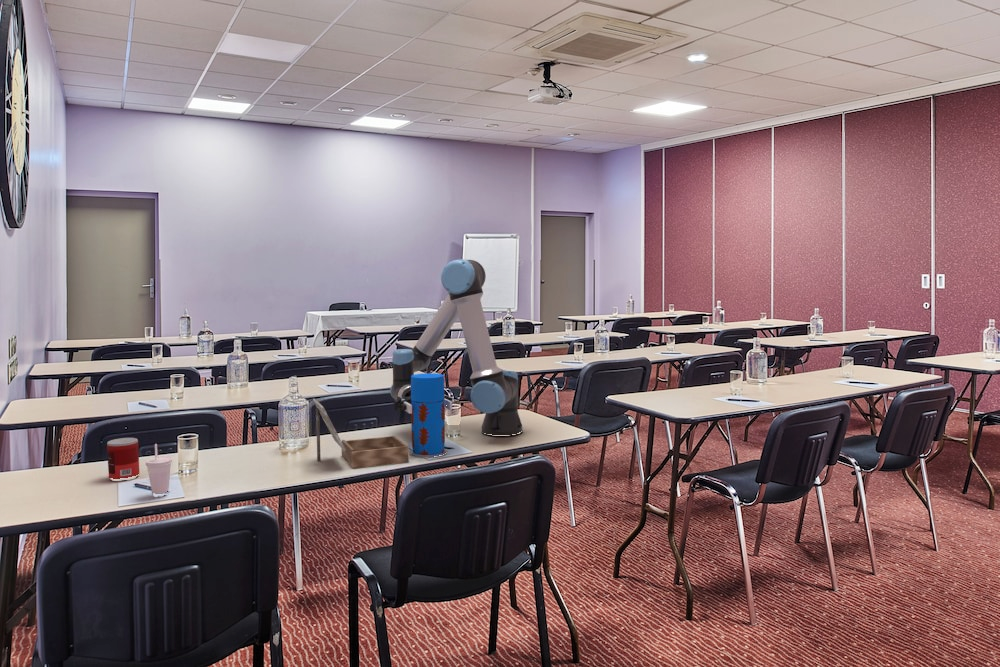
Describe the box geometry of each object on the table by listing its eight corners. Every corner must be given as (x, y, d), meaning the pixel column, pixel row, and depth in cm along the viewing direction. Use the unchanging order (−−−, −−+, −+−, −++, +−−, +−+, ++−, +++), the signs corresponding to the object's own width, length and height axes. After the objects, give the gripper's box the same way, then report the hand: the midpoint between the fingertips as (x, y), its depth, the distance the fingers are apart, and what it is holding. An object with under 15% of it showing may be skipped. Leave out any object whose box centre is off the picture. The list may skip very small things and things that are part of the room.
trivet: (439, 447, 239) (439, 445, 239) (452, 455, 229) (452, 453, 228) (405, 450, 235) (405, 449, 235) (416, 459, 224) (416, 457, 224)
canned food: (145, 474, 208) (143, 438, 207) (126, 482, 200) (124, 444, 199) (122, 473, 209) (121, 436, 208) (102, 481, 201) (100, 443, 200)
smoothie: (145, 494, 189) (142, 443, 188) (171, 490, 193) (168, 439, 192) (149, 500, 184) (146, 448, 183) (175, 496, 188) (173, 444, 187)
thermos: (439, 456, 225) (438, 378, 223) (407, 454, 227) (406, 377, 225) (448, 447, 236) (447, 373, 234) (418, 446, 238) (416, 372, 236)
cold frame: (394, 450, 235) (393, 392, 233) (408, 462, 221) (407, 400, 219) (314, 459, 224) (312, 398, 223) (323, 472, 210) (321, 407, 208)
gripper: (445, 404, 252) (467, 415, 233) (376, 410, 242) (393, 422, 223) (445, 384, 252) (467, 393, 232) (376, 388, 241) (393, 399, 222)
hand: (431, 407), depth 227 cm, fingers open, 13 cm apart
